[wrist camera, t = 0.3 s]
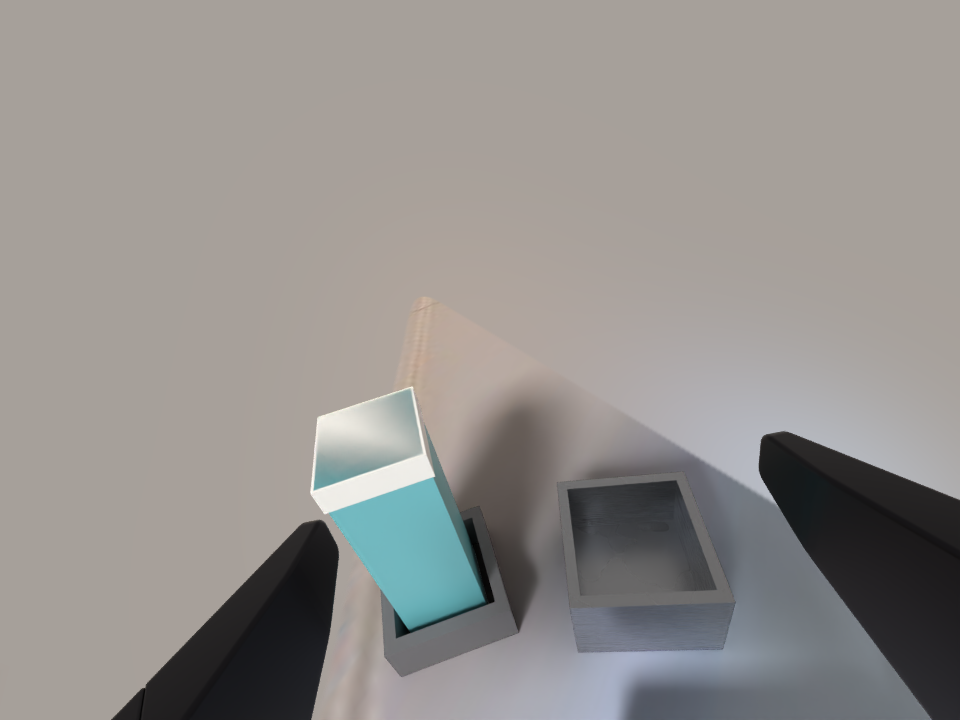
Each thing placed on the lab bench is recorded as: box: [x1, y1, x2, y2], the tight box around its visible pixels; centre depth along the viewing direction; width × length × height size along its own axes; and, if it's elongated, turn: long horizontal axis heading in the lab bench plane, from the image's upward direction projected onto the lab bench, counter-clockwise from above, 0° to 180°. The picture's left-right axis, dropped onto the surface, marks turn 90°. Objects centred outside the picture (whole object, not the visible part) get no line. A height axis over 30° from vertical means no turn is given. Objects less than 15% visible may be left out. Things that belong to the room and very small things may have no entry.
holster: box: [381, 506, 519, 677], centre depth 24 cm, size 6×6×2 cm
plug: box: [310, 386, 489, 633], centre depth 21 cm, size 4×4×13 cm
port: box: [557, 471, 735, 652], centre depth 22 cm, size 6×6×4 cm
